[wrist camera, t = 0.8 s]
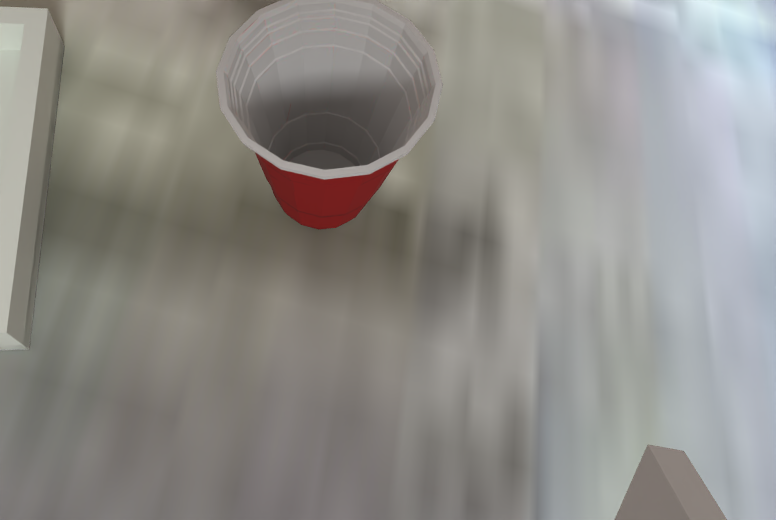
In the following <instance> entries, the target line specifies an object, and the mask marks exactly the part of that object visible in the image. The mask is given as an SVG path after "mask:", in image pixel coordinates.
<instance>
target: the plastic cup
mask: <svg viewBox="0 0 776 520" xmlns="http://www.w3.org/2000/svg"><path fill="white" fill-rule="evenodd" d="M216 75H217V84H218V94H219V103H220V109H221V111H222V112H223V114H224V115H225V117H226V118H227V120H228V121H229V123H230V125H231V126H232V128H233V129H234V131H235V132H236V134H237V135H238V137H239V139H240V140H241V142H242V143H243V144H244V145H245V146H246V147H248V148H249V149H251V150H252V151H254V152H255V153H256V156H257V158H258V160H259V163H260V165H261V167H262V170H263V172H264V174H265V177H266V179H267V180H268V182H269V184H270V185H271V187H272V190H273V193H274V195H275V197H276V199H277V201H278V202H279V204H280V205H281V207H282V209H283V210H284V212H285V213H286V214H287V215H288V216H290V217H291V218H293V219H294V220H295V221H297V222H298V223H300V224H301V225H304V226H308V227H312V228H316V229H326V228H336V227H338V226H340V225H342V224H344V223H346V222H348V221H350V220H352V219H353V218H355V217H356V216H357V215H358V213H359V212H360V211H361V210H362V208H363V207H364V206H365V205H366V203H367V202H368V201H369V200H370V199H371V197H372V196H373V195H374V194H375V192H376V191H377V190H378V189H379V188H380V186H381V185H382V183H383V182H384V180H385V179H386V177H387V176H388V174H389V173H390V171H391V170H392V168H393V167H394V165H395V164H396V162H397V161H398V160H399V159H400V158H402V157H404V156H405V155H407V154H408V153H409V152H410V150H411V149H412V148H413V147H414V145H415V144H416V143H417V142H418V141H419V139H420V138H421V137H422V136H423V134H424V133H425V132H426V131H427V129H428V128H429V127H430V126H431V125H432V123H433V122H434V121H435V117H436V113H437V108H438V104H439V100H440V95H441V91H442V86H443V83H442V79H441V75H440V71H439V67H438V63H437V59H436V55H435V51H434V49H433V48H432V47H431V45H430V44H429V43H428V41H427V40H426V39H425V38H424V36H423V35H422V34H421V33H420V31H419V30H418V29H417V28H416V26H415V25H414V24H413V23H412V21H411V20H409V19H408V18H406V17H404V16H403V15H401V14H399V13H398V12H396V11H394V10H393V9H391V8H389V7H388V6H386V5H384V4H383V3H381V2H379V1H377V0H280V1H278V2H275V3H273V4H271V5H268V6H266V7H264V8H261V9H259V10H257V11H256V12H255V13H254V14H253V15H252V16H251V17H250V18H249V19H248V20H247V21H246V22H245V23H244V24H243V25H241V26H240V27H239V28H238V29H237V30H236V31H235V32H234V33H233V34H232V35H231V36H230V37H229V40H228V42H227V45H226V47H225V50H224V52H223V55H222V58H221V60H220V63H219V65H218V68H217V70H216Z"/></svg>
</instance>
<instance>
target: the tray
mask: <svg viewBox="0 0 776 520" xmlns="http://www.w3.org/2000/svg"><path fill="white" fill-rule="evenodd" d="M63 54H64V44H63V41H62V39H61V37H60V35H59V32H58V30H57V28H56V25H55V23H54V21H53V19H52V16H51V14H50V12H49V10H48V9H46V8H23V7H1V6H0V350H27V349H29V347H30V339H31V330H32V321H33V313H34V304H35V296H36V287H37V278H38V270H39V261H40V252H41V244H42V235H43V226H44V218H45V209H46V201H47V192H48V183H49V175H50V166H51V157H52V149H53V140H54V131H55V123H56V114H57V106H58V97H59V88H60V80H61V71H62V62H63Z"/></svg>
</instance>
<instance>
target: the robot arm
mask: <svg viewBox="0 0 776 520" xmlns="http://www.w3.org/2000/svg"><path fill="white" fill-rule="evenodd" d="M615 520H727V519H726V517H725V516H724V514H723V513H722V511H721V509H720V508H719V506H718V505H717V503H716V501H715V500H714V498H713V497H712V495H711V493H710V492H709V490H708V489H707V487H706V485H705V484H704V482H703V481H702V479H701V478H700V476H699V474H698V473H697V471H696V470H695V468H694V466H693V465H692V463H691V462H690V460H689V458H688V457H687V455H686V454H685V452H684V451H681V450H675V449H670V448H664V447H659V446H653V445H647V447H646V450H645V452H644V454H643V456H642V459H641V461H640V463H639V466H638V468H637V470H636V472H635V475H634V477H633V479H632V481H631V484H630V486H629V488H628V491H627V493H626V495H625V497H624V500H623V502H622V504H621V506H620V509H619V511H618V513H617V516H616V518H615Z"/></svg>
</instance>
